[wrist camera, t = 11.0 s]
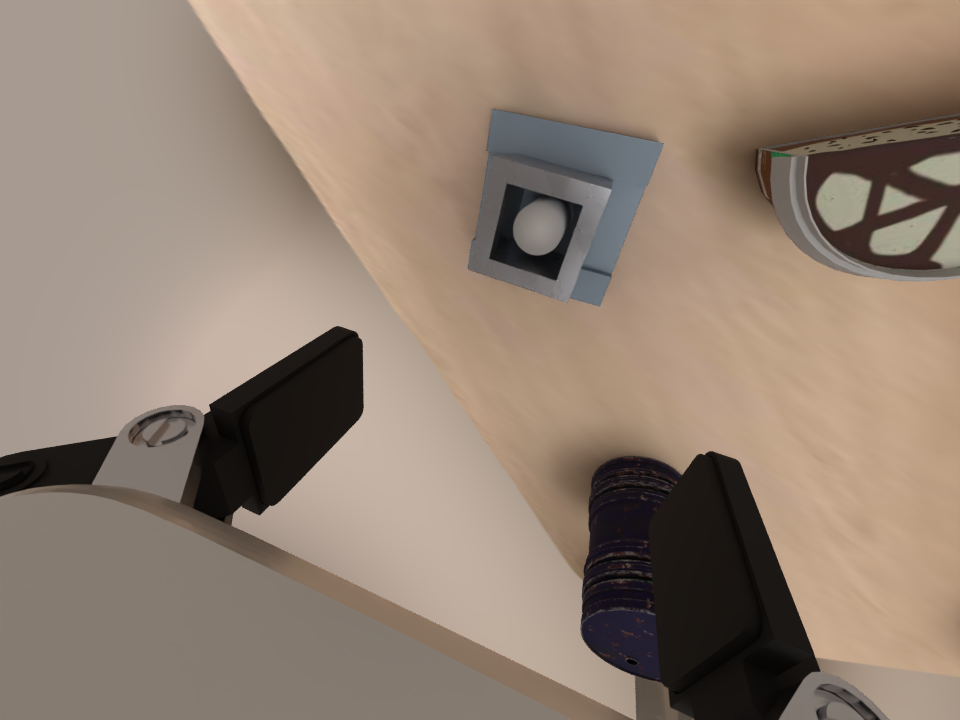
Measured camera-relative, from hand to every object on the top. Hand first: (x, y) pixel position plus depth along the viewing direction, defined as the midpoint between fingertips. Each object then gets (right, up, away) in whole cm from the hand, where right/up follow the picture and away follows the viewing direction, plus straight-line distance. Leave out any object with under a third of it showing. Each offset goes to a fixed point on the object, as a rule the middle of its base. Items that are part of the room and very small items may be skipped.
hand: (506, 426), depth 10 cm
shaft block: (+5, +13, +18) cm, 23 cm away
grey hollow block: (+4, +12, +16) cm, 20 cm away
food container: (+21, +12, +12) cm, 28 cm away
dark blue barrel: (+16, -12, +29) cm, 35 cm away
